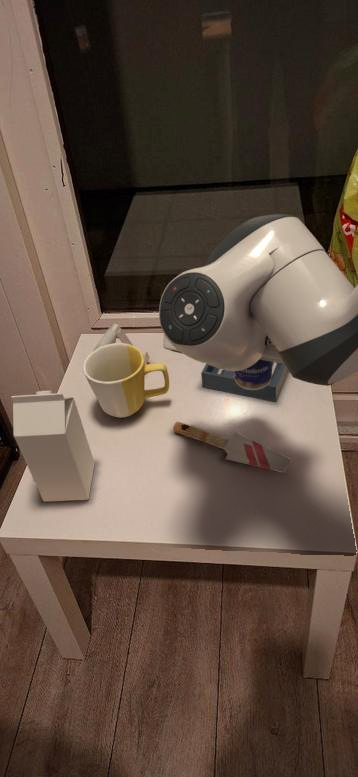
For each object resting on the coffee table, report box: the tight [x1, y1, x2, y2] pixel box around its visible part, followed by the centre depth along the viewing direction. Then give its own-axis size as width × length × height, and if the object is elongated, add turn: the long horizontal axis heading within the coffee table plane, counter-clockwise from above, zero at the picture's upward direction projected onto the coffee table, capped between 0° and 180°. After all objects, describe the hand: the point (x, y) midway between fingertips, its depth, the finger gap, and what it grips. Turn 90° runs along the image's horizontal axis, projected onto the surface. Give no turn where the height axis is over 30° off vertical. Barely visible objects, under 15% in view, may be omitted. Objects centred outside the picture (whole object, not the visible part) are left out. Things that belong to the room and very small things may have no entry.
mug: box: [82, 342, 170, 418], centre depth 93 cm, size 14×10×10 cm
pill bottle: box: [234, 360, 272, 390], centre depth 79 cm, size 6×6×10 cm
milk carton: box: [10, 390, 96, 502], centre depth 79 cm, size 7×7×19 cm
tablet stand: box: [92, 323, 150, 365], centre depth 101 cm, size 9×8×8 cm
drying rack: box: [200, 362, 289, 403], centre depth 98 cm, size 14×11×4 cm
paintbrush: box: [172, 421, 292, 473], centre depth 86 cm, size 4×3×20 cm
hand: (254, 348), depth 79 cm, fingers closed on pill bottle, 6 cm apart
